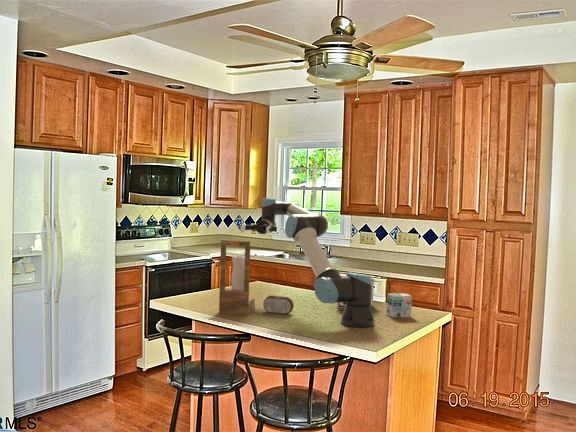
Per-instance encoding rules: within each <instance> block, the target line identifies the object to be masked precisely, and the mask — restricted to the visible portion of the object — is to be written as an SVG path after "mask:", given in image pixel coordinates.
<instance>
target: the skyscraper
mask: <svg viewBox="0 0 576 432" xmlns="http://www.w3.org/2000/svg"><path fill="white" fill-rule="evenodd" d="M243 255H245V252H240V254H232V255H231V259H232V265H233V266H232V267H233V268H232V272H231V279H230V280H231V281H230V282H231V284H230V285H231V290H239V291H244V268H245V256H243Z"/></svg>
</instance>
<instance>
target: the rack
mask: <svg viewBox="0 0 576 432" xmlns="http://www.w3.org/2000/svg"><path fill="white" fill-rule="evenodd" d="M227 245H228V246H232V247H236V246H237V247H239V246H241V247H242V246H244V253H245V254H244V257H245V265H244V291H239V290H232V289H226V269H227V267H226V266H227V265H226V262H227ZM219 263H220V266H219V267H220V269H219V300H218V301H219V303H218V305H219V309H218V314H221V315H232V316H244V317H246V316H247V317H248V316H249V315H250V314H251V313H252V312H253V311H255V310H256V309H255V308H256V307H255V305H256V304H255V303H256V302H255V301H256V298H252V299H249V298H250V269H251V268H250V267H251V240H235V239H234V240H233V239H231V240H229V239H221V240H220V262H219Z"/></svg>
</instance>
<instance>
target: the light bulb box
mask: <svg viewBox="0 0 576 432" xmlns="http://www.w3.org/2000/svg"><path fill="white" fill-rule="evenodd" d="M386 295H387V297H386V313H385V314H386V316H389V317H390V318H412V301H413V298H412V297H413V296H412V295H410V294H408V293H406V292H405V293H402V292H401V293H387V294H386Z"/></svg>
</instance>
